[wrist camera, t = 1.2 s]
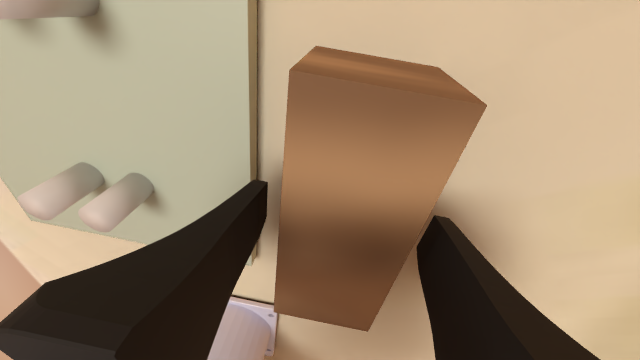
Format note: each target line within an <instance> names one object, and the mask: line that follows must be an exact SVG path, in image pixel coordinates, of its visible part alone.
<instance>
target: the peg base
mask: <svg viewBox="0 0 640 360" xmlns="http://www.w3.org/2000/svg"><path fill="white" fill-rule="evenodd" d="M0 178H1V179H2V180H3V182H4V183H5V185H6V186H7V187H8V189H9V190H10V192H11V193H12V194H13V196H14V197H15V199H16V200H17V202H18V203H19V205H20V206H21V207H22V209H23V210H24V211H25V213H26V214H27V216H28V217H29V218H30V220H31V221H36V222H41V223H46V224H50V225H55V226H60V227H65V228H70V229H75V230H79V231H84V232H89V233H94V234H99V235H104V236H109V237H113V238H118V239H123V240H128V241H133V242H138V243H142V244H147V245H149V244H151V243H154V242H156V241H158V240H160V239H162V238H164V237H166V236H168V235H170V234H172V233H174V232H176V231H178V230H180V229H182V228H184V227H185V226H187V225H189V224H191V223H192V222H194V221H196V220H197V219H199V218H200V217H202V216H203V215H205V214H206V213H208V212H210V211H211V210H213V209H214V208H216V207H217V206H219V205H220V204H221V203H223V202H224V201H225V200H227V199H228V198H230V197H231V196H232V195H234V194H235V193H236V192H238V191H239V190H240V189H242V188H243V187H244V186H245V185H247V184H248V183H249V182H251V181H252V180H257V0H0ZM256 254H257V243H256V245H255V247H254V249H253V251H252V253H251V255H250V257H249V259H248V261H247V263H246V265H249V266H252V264H253V262H254V259H255V257H256Z"/></svg>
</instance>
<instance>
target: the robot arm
mask: <svg viewBox="0 0 640 360" xmlns="http://www.w3.org/2000/svg"><path fill="white" fill-rule="evenodd" d="M267 186H268V182H264V181H259V180H252V181H251V182H249V183H248V184H247V185H245V186H244V187H243V188H242V189H240V190H239V191H238V192H236V193H235V194H234V195H232V196H231V197H230V198H228V199H227V200H225V201H224V202H223V203H221V204H220V205H219V206H217V207H216V208H214V209H213V210H211V211H210V212H208V213H206V214H205V215H203V216H202V217H200V218H199V219H197V220H196V221H194V222H192V223H191V224H189V225H187V226H185V227H184V228H182V229H180V230H178V231H176V232H174V233H172V234H170V235H168V236H166V237H164V238H162V239H160V240H158V241H156V242H154V243H151V244H149V245H147V246H145V247H143V248H141V249H138V250H136V251H134V252H131V253H129V254H126V255H124V256H121V257H119V258H116V259H114V260H111V261H108V262H106V263H103V264H100V265H98V266H95V267H92V268H89V269H86V270H83V271H80V272H77V273H74V274H71V275H68V276H65V277H62V278H59V279H56V280H53V281H49V282H46V283H45V284H44V285H42V286H41V287H40V288H39V289H38V290H37V291H36V292H34V293H33V294H32V295H31V296H30V297H29V298H28V299H26V300H25V301H24V302H23V303H22V304H21V305H20V306H18V307H17V308H16V309H15V310H14V311H13V312H11V314H9V315H8V316H7V317H6V318H5V319H4V320H2V321H1V322H0V350H1V351H2V352H4V353H5V354H6V355H8V356H9V357H11V358H12V359H14V360H264V356H265V355H266V356H273V354H274V347H275V337H276V326H277V316H278V313H275V312H274V306H273V305H269V304H264V303H259V302H255V301H250V300H245V299H240V298H236V297H231V294H232V292H233V289H234V287H235V285H236V283H237V281H238V279H239V277H240V275H241V273H242V271H243V269H244V267H245V265H246V263H247V261H248V259H249V257H250V255H251V253H252V251H253V249H254V247H255V245H256V243H257V241H258V239H259V237H260V234H261V231H262V228H263V226H264V223H265V220H266V217H267ZM417 260H418V270H419V275H420V279H421V284H422V288H423V293H424V297H425V301H426V306H427V310H428V314H429V319H430V323H431V329H432V334H433V342H434V350H435V358H436V360H600V359H599V358H597V357H596V356H595V355H593V354H592V353H591V352H589V351H588V350H587V349H585V348H584V347H583V346H581V345H580V344H579V343H578V342H576V341H575V340H574V339H573V338H571V337H570V336H569V335H568V334H566V333H565V332H564V331H563V330H561V329H560V328H559V327H558V326H556V325H555V324H554V323H553V322H552V321H550V320H549V319H548V318H547V317H546V316H544V315H543V314H542V313H541V312H540V311H539V310H538V309H536V308H535V307H534V306H533V305H532V304H531V303H530V302H529V301H528V300H526V299H525V298H524V297H523V296H522V295H521V294H520V293H519V292H518V291H517V290H516V289H515V288H514V287H513V286H512V285H511V284H510V283H509V282H508V281H507V280H506V279H505V278H504V277H503V276H502V275H501V274H500V273H499V272H498V271H497V270H496V269H495V268H494V267H493V266H492V265H491V264H490V263H489V262H488V261H487V260H486V259H485V258H484V256H483V255H482V254H481V253H480V252H479V251H478V250H477V249H476V248H475V246H474V245H473V244H472V243H471V242H470V241H469V240H468V239H467V237H466V236H465V235H464V234H463V233H462V232H461V231H460V230H459V228H458V227H457V226H456V225H455V224H454V223H453V222H452V221H451V220H450V219H449V218H445V217H440V216H435V215H434V217H433V219H432V220H431V222H430V224H429V226H428V228H427V229H426V231H425V233H424V235H423V237H422V238H421V240H420V242H419V244H418V246H417Z"/></svg>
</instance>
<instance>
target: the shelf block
mask: <svg viewBox="0 0 640 360" xmlns="http://www.w3.org/2000/svg"><path fill="white" fill-rule="evenodd" d="M486 107H487V105H486V104H485V103H484V102H482V101H481V100H480V99H479V98H477V97H476V96H475V95H473V94H472V93H471V92H469V91H468V90H467V89H466V88H464V87H463V86H462V85H460V84H459V83H458V82H457V81H455V80H454V79H453V78H451V77H450V76H449V75H448V74H446V73H445V72H444V71H442V70H441V69H440V68H439V67H433V66H428V65H422V64H416V63H411V62H405V61H399V60H394V59H388V58H382V57H377V56H371V55H365V54H360V53H354V52H348V51H342V50H337V49H331V48H325V47H320V46H316V47H314V48H313V49H312V50H311V51H310V52H309V53H308V54H307V55H305V56H304V57H303V58H302V59H301V60H300V61H299V62H298V63H297V64H295V65H294V66H293V67H292V68H291V69H290V70H289V85H288V100H287V115H286V130H285V146H284V161H283V176H282V191H281V207H280V222H279V237H278V252H277V268H276V283H275V298H274V312H275V313H280V314H285V315H290V316H294V317H299V318H304V319H309V320H314V321H319V322H324V323H329V324H333V325H338V326H343V327H348V328H353V329H358V330H363V331H367V332H368V331H369V329H370V327H371V325H372V323H373V321H374V319H375V317H376V315H377V314H378V312H379V310H380V308H381V306H382V304H383V302H384V300H385V298H386V296H387V295H388V293H389V291H390V289H391V287H392V285H393V283H394V281H395V279H396V277H397V276H398V274H399V272H400V270H401V268H402V266H403V264H404V262H405V260H406V258H407V257H408V255H409V253H410V251H411V249H412V247H413V245H414V243H415V241H416V240H417V238H418V236H419V234H420V232H421V230H422V228H423V226H424V224H425V222H426V221H427V219H428V217H429V215H430V213H431V211H432V209H433V207H434V205H435V203H436V202H437V200H438V198H439V196H440V194H441V192H442V190H443V188H444V186H445V185H446V183H447V181H448V179H449V177H450V175H451V173H452V171H453V169H454V167H455V166H456V164H457V162H458V160H459V158H460V156H461V154H462V152H463V150H464V148H465V147H466V145H467V143H468V141H469V139H470V137H471V135H472V133H473V131H474V129H475V128H476V126H477V124H478V122H479V120H480V118H481V116H482V114H483V112H484V111H485V109H486Z"/></svg>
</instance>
